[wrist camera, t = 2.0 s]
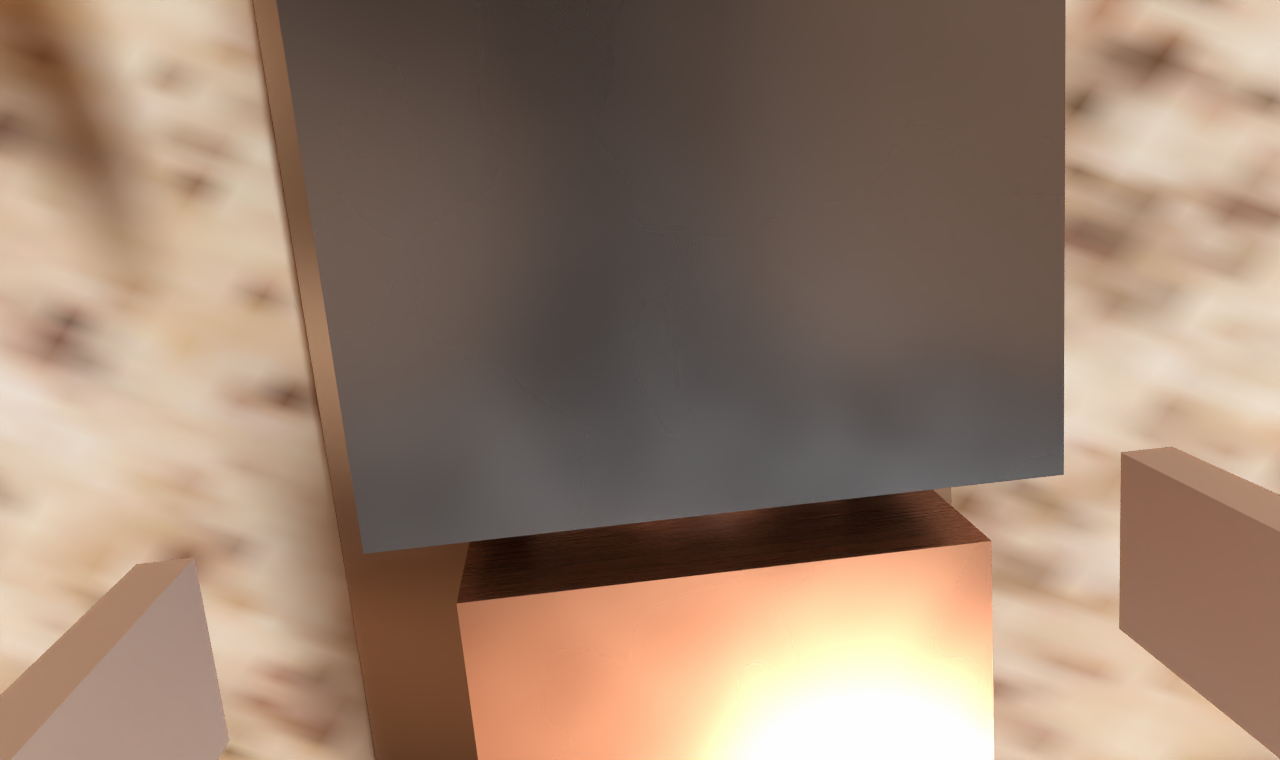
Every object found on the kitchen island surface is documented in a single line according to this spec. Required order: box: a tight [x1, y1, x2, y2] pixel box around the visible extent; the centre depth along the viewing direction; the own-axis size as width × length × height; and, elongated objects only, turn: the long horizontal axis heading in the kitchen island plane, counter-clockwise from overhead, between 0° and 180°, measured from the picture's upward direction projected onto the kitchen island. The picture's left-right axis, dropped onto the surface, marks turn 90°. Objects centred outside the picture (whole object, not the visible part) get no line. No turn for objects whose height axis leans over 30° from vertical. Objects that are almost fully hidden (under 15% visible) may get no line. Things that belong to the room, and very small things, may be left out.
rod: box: [457, 489, 994, 760], centre depth 13 cm, size 17×5×7 cm, turn 5°
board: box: [253, 0, 951, 760], centre depth 21 cm, size 28×12×1 cm, turn 5°
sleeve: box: [276, 0, 1065, 554], centre depth 14 cm, size 9×7×11 cm
